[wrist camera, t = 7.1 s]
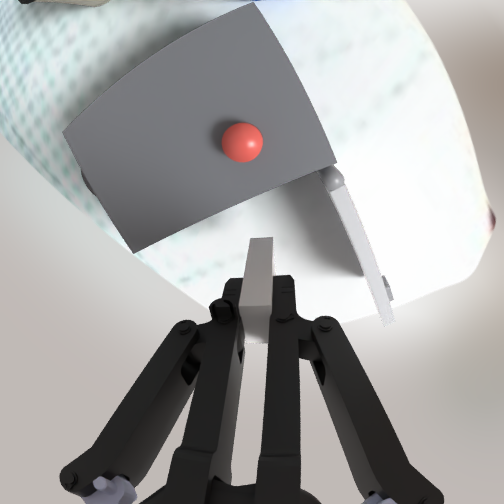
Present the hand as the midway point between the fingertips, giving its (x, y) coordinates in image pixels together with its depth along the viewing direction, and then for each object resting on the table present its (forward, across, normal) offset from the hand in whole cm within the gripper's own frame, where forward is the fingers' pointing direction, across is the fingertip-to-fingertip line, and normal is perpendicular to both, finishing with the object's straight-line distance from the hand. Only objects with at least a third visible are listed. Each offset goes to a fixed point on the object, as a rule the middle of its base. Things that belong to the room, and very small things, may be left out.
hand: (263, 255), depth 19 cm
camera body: (+6, -4, +9) cm, 11 cm away
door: (+5, +7, 0) cm, 9 cm away
